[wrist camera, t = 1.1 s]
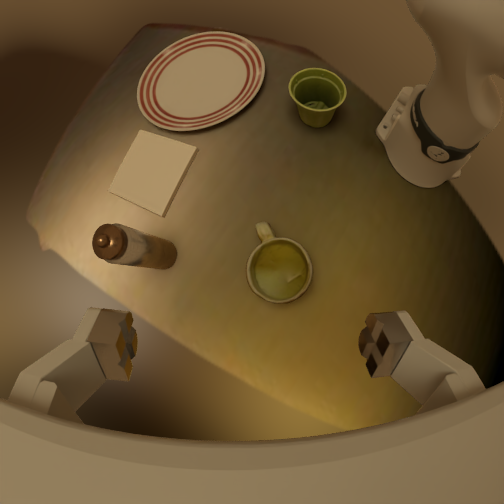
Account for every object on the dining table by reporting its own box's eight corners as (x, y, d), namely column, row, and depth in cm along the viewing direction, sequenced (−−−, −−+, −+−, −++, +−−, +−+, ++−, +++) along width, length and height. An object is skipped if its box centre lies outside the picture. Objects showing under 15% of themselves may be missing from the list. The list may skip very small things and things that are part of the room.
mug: (328, 301, 45) (310, 295, 36) (269, 312, 49) (239, 308, 40) (316, 228, 48) (296, 206, 40) (260, 243, 53) (231, 226, 44)
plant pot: (301, 141, 50) (301, 117, 41) (282, 102, 51) (280, 74, 43) (348, 128, 49) (356, 103, 40) (327, 90, 50) (331, 63, 42)
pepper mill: (158, 235, 52) (93, 212, 32) (181, 247, 51) (122, 227, 32) (146, 261, 51) (77, 250, 32) (169, 274, 51) (105, 269, 31)
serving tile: (142, 132, 55) (140, 129, 53) (198, 150, 52) (196, 147, 51) (111, 192, 54) (107, 190, 53) (164, 217, 52) (161, 216, 51)
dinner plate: (288, 102, 51) (288, 93, 48) (158, 159, 54) (150, 152, 50) (238, 27, 55) (236, 17, 52) (134, 73, 57) (128, 65, 54)
